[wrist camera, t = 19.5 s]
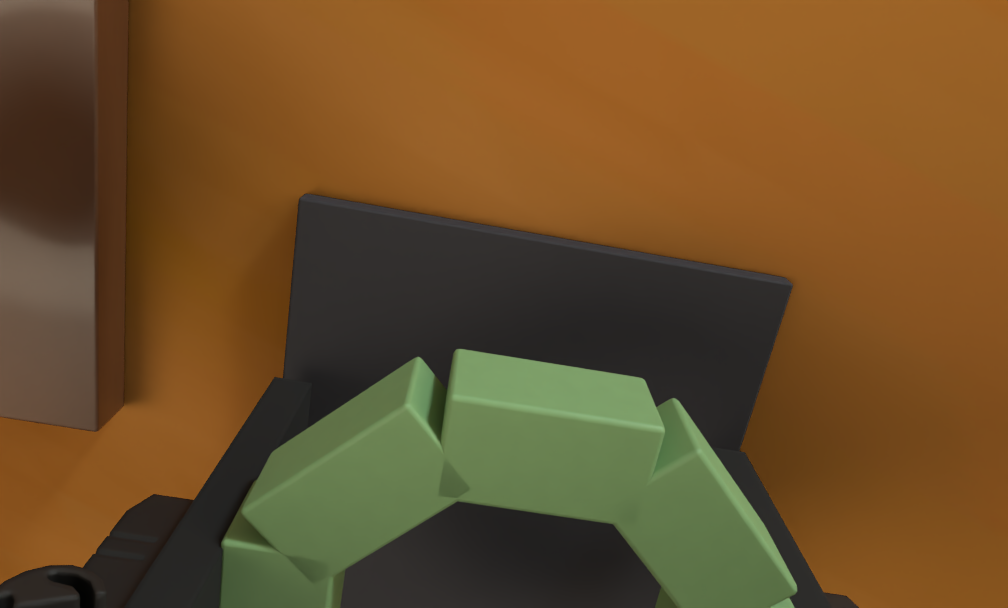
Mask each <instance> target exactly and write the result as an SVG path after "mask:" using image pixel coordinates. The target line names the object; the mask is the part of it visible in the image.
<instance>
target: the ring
mask: <svg viewBox="0 0 1008 608" xmlns="http://www.w3.org/2000/svg"><path fill="white" fill-rule="evenodd" d="M457 501H459V502H466V503H472V504H479V505H486V506H493V507H500V508H507V509H513V510H520V511H527V512H534V513H541V514H548V515H554V516H561V517H568V518H575V519H582V520H589V521H595V522H602V523H609V524H613V525H614V526H615V527H616V529H617V530H618V531H619V532H620V534H621V535H622V536H623V538H624V539H625V540H626V541H627V543H628V544H629V545H630V547H631V548H632V549H633V551H634V552H635V553H636V554H637V556H638V557H639V558H640V560H641V561H642V562H643V563H644V565H645V566H646V567H647V569H648V570H649V571H650V573H651V574H652V575H653V576H654V578H655V579H656V580H657V582H658V583H659V584H660V585H661V589H660V592H659V596H658V599H657V602H656V606H655V608H795V607H794V605H793V604H792V602H791V600H790V598H789V597H791V596H793V595H795V594H796V592H797V585H796V583H795V581H794V579H793V577H792V575H791V574H790V572H789V570H788V568H787V566H786V564H785V562H784V560H783V559H782V557H781V555H780V553H779V551H778V549H777V547H776V546H775V544H774V542H773V540H772V538H771V536H770V534H769V532H768V531H767V529H766V527H765V525H764V523H763V522H762V521H761V519H760V518H759V516H758V515H757V513H756V512H755V510H754V509H753V508H752V506H751V505H750V503H749V502H748V500H747V499H746V497H745V496H744V495H743V493H742V492H741V490H740V489H739V487H738V486H737V484H736V483H735V481H734V480H733V479H732V477H731V476H730V474H729V473H728V471H727V470H726V468H725V467H724V466H723V464H722V463H721V461H720V460H719V458H718V457H717V455H716V454H715V453H714V451H713V450H712V448H711V447H710V445H709V444H708V442H707V441H706V439H705V438H704V437H703V435H702V434H701V432H700V431H699V429H698V428H697V426H696V425H695V424H694V422H693V421H692V419H691V418H690V416H689V415H688V413H687V412H686V411H685V409H684V408H683V406H682V405H681V403H680V402H679V401H678V400H677V399H675V398H672V399H669V400H668V401H666V402H664V403H663V404H661V405H659V406H658V407H656V406H655V403H654V401H653V399H652V396H651V394H650V391H649V389H648V387H647V384H646V382H645V380H644V379H642V378H639V377H633V376H627V375H620V374H614V373H608V372H602V371H596V370H589V369H583V368H577V367H571V366H564V365H558V364H552V363H546V362H539V361H533V360H527V359H521V358H514V357H508V356H502V355H496V354H489V353H483V352H477V351H471V350H464V349H456V350H455V352H454V353H453V358H452V364H451V370H450V376H449V382H448V388H447V389H446V388H445V387H444V386H443V384H442V383H441V382H440V381H439V380H438V378H437V377H436V376H435V375H434V373H433V372H432V371H431V370H430V368H429V367H428V366H427V365H426V363H425V362H424V361H423V360H422V359H421V358H420V357H416V358H414V359H412V360H411V361H409V362H408V363H406V364H405V365H403V366H402V367H400V368H398V369H397V370H395V371H394V372H392V373H391V374H389V375H388V376H386V377H385V378H383V379H382V380H380V381H379V382H377V383H376V384H374V385H373V386H371V387H370V388H368V389H367V390H365V391H364V392H362V393H361V394H359V395H358V396H356V397H354V398H353V399H351V400H350V401H348V402H347V403H345V404H344V405H342V406H341V407H339V408H338V409H336V410H335V411H333V412H332V413H330V414H329V415H327V416H326V417H324V418H323V419H321V420H320V421H318V422H317V423H315V424H313V425H312V426H310V427H309V428H307V429H306V430H304V431H303V432H301V433H300V434H298V435H297V436H295V437H294V438H292V439H291V440H289V441H288V442H286V443H285V444H283V445H282V446H280V447H279V448H277V449H276V450H274V451H273V452H272V453H271V455H270V456H269V458H268V460H267V462H266V464H265V466H264V468H263V470H262V472H261V474H260V475H259V477H258V479H257V480H255V481H254V482H253V484H252V486H251V488H250V489H249V491H248V493H247V495H246V497H245V499H244V501H243V503H242V504H241V506H240V508H239V510H238V512H237V514H236V516H235V518H234V520H233V521H232V523H231V525H230V527H229V529H228V531H227V533H226V535H225V536H224V538H223V540H222V542H221V548H223V552H222V568H221V584H220V599H219V608H340V605H341V598H342V590H343V583H344V575H345V569H347V568H348V567H350V566H352V565H353V564H355V563H357V562H358V561H360V560H361V559H363V558H365V557H366V556H368V555H370V554H371V553H373V552H375V551H376V550H378V549H380V548H381V547H383V546H385V545H386V544H388V543H390V542H391V541H393V540H394V539H396V538H398V537H399V536H401V535H403V534H404V533H406V532H408V531H409V530H411V529H413V528H414V527H416V526H418V525H419V524H421V523H422V522H424V521H426V520H427V519H429V518H431V517H432V516H434V515H436V514H437V513H439V512H441V511H442V510H444V509H446V508H447V507H449V506H451V505H452V504H454V503H455V502H457Z"/></svg>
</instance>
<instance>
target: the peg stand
mask: <svg viewBox="0 0 1008 608" xmlns="http://www.w3.org/2000/svg"><path fill="white" fill-rule="evenodd" d="M127 83H128V0H0V417H4V418H10V419H17V420H23V421H30V422H36V423H43V424H49V425H55V426H62V427H68V428H75V429H81V430H87V431H94V432H96V431H99V430H100V429H101V428H102V427H103V426H104V425H105V424H106V423H107V422H108V421H109V420H110V419H111V418H112V417H113V416H114V415H115V414H116V413H117V412H118V411H119V410H120V409H121V408H122V407H123V406H124V338H125V253H126V168H127Z"/></svg>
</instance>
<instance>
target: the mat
mask: <svg viewBox="0 0 1008 608" xmlns="http://www.w3.org/2000/svg"><path fill="white" fill-rule="evenodd" d="M792 287H793V285H792V284H791V283H790V282H789V281H788V280H787V279H786V278H784V277H779V276H773V275H768V274H762V273H756V272H751V271H745V270H739V269H734V268H728V267H722V266H716V265H711V264H705V263H699V262H694V261H688V260H682V259H677V258H671V257H665V256H659V255H654V254H648V253H642V252H637V251H631V250H625V249H620V248H614V247H608V246H603V245H597V244H591V243H585V242H580V241H574V240H568V239H563V238H557V237H551V236H546V235H540V234H534V233H529V232H523V231H517V230H511V229H506V228H500V227H494V226H489V225H483V224H477V223H472V222H466V221H460V220H454V219H449V218H443V217H437V216H432V215H426V214H420V213H415V212H409V211H403V210H398V209H392V208H386V207H380V206H375V205H369V204H363V203H358V202H352V201H346V200H341V199H335V198H329V197H324V196H318V195H312V194H304V195H303V196H302V197H301V198H300V199H299V204H298V215H297V227H296V238H295V249H294V260H293V271H292V283H291V294H290V305H289V316H288V327H287V339H286V350H285V361H284V372H283V378H284V379H290V380H296V381H303V382H309V383H312V387H311V397H310V407H309V416H308V426H307V428H309V427H310V426H312V425H313V424H315V423H317V422H318V421H320V420H321V419H323V418H324V417H326V416H327V415H329V414H330V413H332V412H333V411H335V410H336V409H338V408H339V407H341V406H342V405H344V404H345V403H347V402H348V401H350V400H351V399H353V398H354V397H356V396H358V395H359V394H361V393H362V392H364V391H365V390H367V389H368V388H370V387H371V386H373V385H374V384H376V383H377V382H379V381H380V380H382V379H383V378H385V377H386V376H388V375H389V374H391V373H392V372H394V371H395V370H397V369H398V368H400V367H402V366H403V365H405V364H406V363H408V362H409V361H411V360H412V359H414V358H416V357H420V358H421V359H422V360H423V361H424V362H425V363H426V365H427V366H428V367H429V368H430V370H431V371H432V372H433V373H434V375H435V376H436V377H437V378H438V380H439V381H440V382H441V383H442V384H443V386H444V387H445V388H446V389H447V388H448V382H449V376H450V370H451V364H452V358H453V353H454V352H455V350H456V349H464V350H471V351H477V352H483V353H489V354H496V355H502V356H508V357H514V358H521V359H527V360H533V361H539V362H546V363H552V364H558V365H564V366H571V367H577V368H583V369H589V370H596V371H602V372H608V373H614V374H620V375H627V376H633V377H639V378H642V379H644V380H645V382H646V384H647V387H648V389H649V391H650V394H651V396H652V399H653V401H654V403H655V406H656V407H658V406H659V405H661V404H663V403H664V402H666V401H668V400H669V399H672V398H675V399H677V400H678V401H679V402H680V403H681V405H682V406H683V408H684V409H685V411H686V412H687V413H688V415H689V416H690V418H691V419H692V421H693V422H694V424H695V425H696V426H697V428H698V429H699V431H700V432H701V434H702V435H703V437H704V438H705V439H706V441H707V442H708V444H709V445H710V447H715V448H721V449H727V450H734V451H740V448H741V445H742V441H743V438H744V435H745V432H746V429H747V426H748V423H749V420H750V417H751V414H752V411H753V407H754V404H755V401H756V398H757V395H758V392H759V389H760V386H761V383H762V380H763V377H764V373H765V370H766V367H767V364H768V361H769V358H770V355H771V352H772V349H773V346H774V343H775V339H776V336H777V333H778V330H779V327H780V324H781V321H782V318H783V315H784V312H785V309H786V305H787V302H788V299H789V296H790V293H791V290H792ZM660 589H661V585H660V584H659V583H658V582H657V580H656V579H655V578H654V576H653V575H652V574H651V573H650V571H649V570H648V569H647V567H646V566H645V565H644V563H643V562H642V561H641V560H640V558H639V557H638V556H637V554H636V553H635V552H634V551H633V549H632V548H631V547H630V545H629V544H628V543H627V541H626V540H625V539H624V538H623V536H622V535H621V534H620V532H619V531H618V530H617V529H616V527H615V526H614V525H613V524H609V523H602V522H595V521H589V520H582V519H575V518H568V517H561V516H554V515H548V514H541V513H534V512H527V511H520V510H513V509H507V508H500V507H493V506H486V505H479V504H472V503H466V502H459V501H457V502H455V503H454V504H452V505H451V506H449V507H447V508H446V509H444V510H442V511H441V512H439V513H437V514H436V515H434V516H432V517H431V518H429V519H427V520H426V521H424V522H422V523H421V524H419V525H418V526H416V527H414V528H413V529H411V530H409V531H408V532H406V533H404V534H403V535H401V536H399V537H398V538H396V539H394V540H393V541H391V542H390V543H388V544H386V545H385V546H383V547H381V548H380V549H378V550H376V551H375V552H373V553H371V554H370V555H368V556H366V557H365V558H363V559H361V560H360V561H358V562H357V563H355V564H353V565H352V566H350V567H348V568H347V569H345V575H344V583H343V590H342V598H341V605H340V608H655V606H656V602H657V599H658V596H659V592H660Z"/></svg>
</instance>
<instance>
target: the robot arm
mask: <svg viewBox="0 0 1008 608" xmlns="http://www.w3.org/2000/svg"><path fill="white" fill-rule="evenodd" d="M311 387H312V383H309V382H303V381H296V380H290V379H284V378H278V377H274V379H273V380H272V382H271V384H270V385H269V387H268V388H267V390H266V391H265V393H264V394H263V396H262V397H261V399H260V400H259V402H258V403H257V405H256V406H255V408H254V410H253V411H252V413H251V414H250V416H249V417H248V419H247V420H246V422H245V423H244V425H243V426H242V428H241V429H240V431H239V432H238V434H237V435H236V437H235V439H234V440H233V442H232V443H231V445H230V446H229V448H228V449H227V451H226V452H225V454H224V455H223V457H222V458H221V460H220V461H219V463H218V465H217V466H216V468H215V469H214V471H213V472H212V474H211V475H210V477H209V478H208V480H207V481H206V483H205V484H204V486H203V487H202V489H201V491H200V492H199V494H198V495H197V497H196V498H195V500H189V499H182V498H176V497H169V496H162V495H156V494H153V495H152V496H150V497H148V498H147V499H145V500H144V501H142V502H140V503H139V504H137V505H135V506H134V507H132V508H131V509H129V510H127V511H126V513H125V514H124V515H123V517H122V518H121V519H120V520H119V522H118V523H117V524H116V525H115V527H114V528H113V529H112V531H111V532H110V536H107V537H106V538H105V540H104V541H103V542H102V543H101V545H100V546H99V547H98V549H97V551H96V554H93V555H92V556H91V558H90V559H89V560H88V561H87V563H86V564H85V565H84V567H83V568H81V567H77V566H73V565H50V566H45V567H41V568H37V569H33V570H28V571H25V572H23V573H21V574H19V575H17V576H15V577H13V578H11V579H8V580H6V581H4V582H3V583H2V584H1V585H0V608H219V599H220V584H221V568H222V552H223V548H221V542H222V540H223V538H224V536H225V535H226V533H227V531H228V529H229V527H230V525H231V523H232V521H233V520H234V518H235V516H236V514H237V512H238V510H239V508H240V506H241V504H242V503H243V501H244V499H245V497H246V495H247V493H248V491H249V489H250V488H251V486H252V484H253V482H254V481H255V480H257V479H258V477H259V475H260V474H261V472H262V470H263V468H264V466H265V464H266V462H267V460H268V458H269V456H270V455H271V453H272V452H273V451H274V450H276V449H277V448H279V447H280V446H282V445H283V444H285V443H286V442H288V441H289V440H291V439H292V438H294V437H295V436H297V435H298V434H300V433H301V432H303V431H304V430H306V429H307V426H308V416H309V407H310V397H311ZM711 448H712V450H713V451H714V453H715V454H716V455H717V457H718V458H719V460H720V461H721V463H722V464H723V466H724V467H725V468H726V470H727V471H728V473H729V474H730V476H731V477H732V479H733V480H734V481H735V483H736V484H737V486H738V487H739V489H740V490H741V492H742V493H743V495H744V496H745V497H746V499H747V500H748V502H749V503H750V505H751V506H752V508H753V509H754V510H755V512H756V513H757V515H758V516H759V518H760V519H761V521H762V522H763V523H764V525H765V527H766V529H767V531H768V532H769V534H770V536H771V538H772V540H773V542H774V544H775V546H776V547H777V549H778V551H779V553H780V555H781V557H782V559H783V560H784V562H785V564H786V566H787V568H788V570H789V572H790V574H791V575H792V577H793V579H794V581H795V583H796V585H797V592H796V594H795V595H793V596H791V597H789V598H790V600H791V602H792V604H793V605H794V607H795V608H859V607H858V606H856V605H855V604H854V603H853V602H852V601H851V600H850V599H849V598H848V597H847V596H844V595H837V594H830V593H824V592H823V591H822V589H821V587H820V586H819V584H818V582H817V580H816V578H815V577H814V575H813V573H812V571H811V570H810V568H809V566H808V564H807V562H806V561H805V559H804V557H803V555H802V554H801V552H800V550H799V548H798V546H797V545H796V543H795V541H794V539H793V538H792V536H791V534H790V532H789V530H788V529H787V527H786V525H785V523H784V522H783V520H782V518H781V516H780V514H779V513H778V511H777V509H776V507H775V506H774V504H773V502H772V500H771V498H770V497H769V495H768V493H767V491H766V489H765V488H764V486H763V484H762V482H761V481H760V479H759V477H758V475H757V473H756V472H755V470H754V468H753V466H752V465H751V463H750V461H749V459H748V457H747V456H746V454H745V452H740V451H734V450H727V449H721V448H715V447H711Z"/></svg>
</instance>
